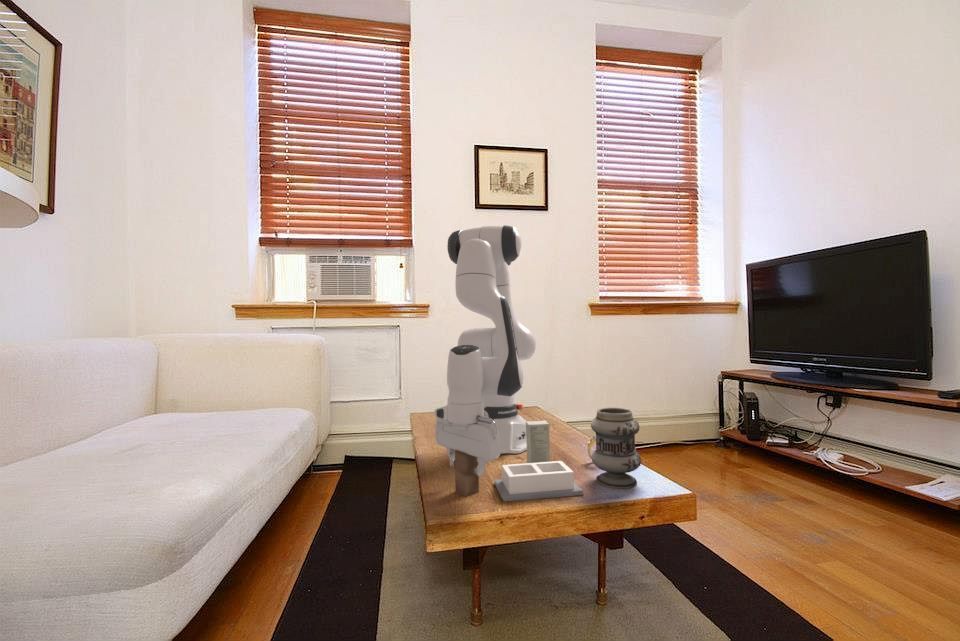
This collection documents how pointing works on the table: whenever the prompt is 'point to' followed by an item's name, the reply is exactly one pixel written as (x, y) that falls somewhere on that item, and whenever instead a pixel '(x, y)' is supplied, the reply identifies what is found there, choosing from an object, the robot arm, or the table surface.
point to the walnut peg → (466, 474)
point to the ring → (590, 444)
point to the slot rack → (536, 481)
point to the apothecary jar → (615, 447)
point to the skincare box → (537, 441)
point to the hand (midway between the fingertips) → (466, 470)
